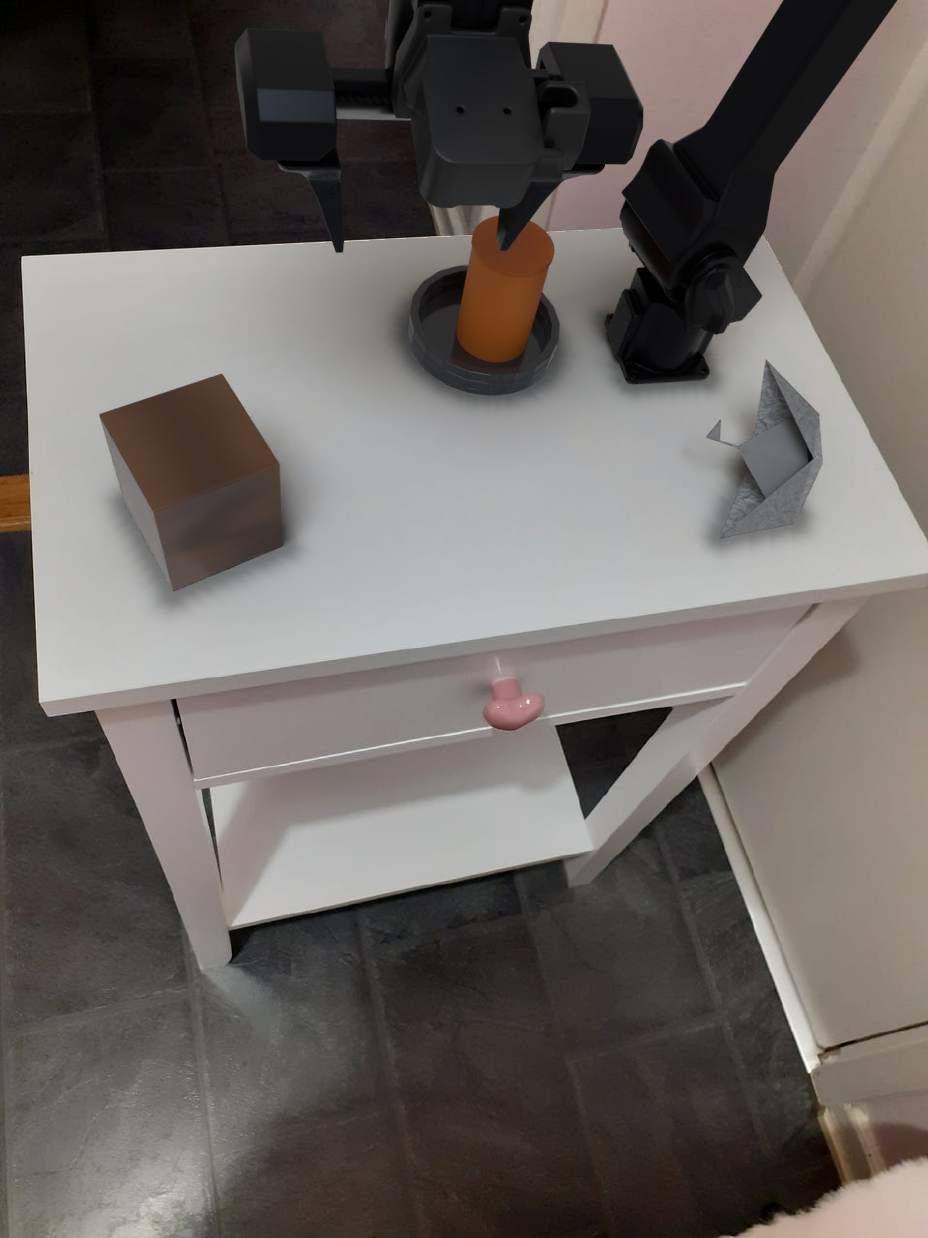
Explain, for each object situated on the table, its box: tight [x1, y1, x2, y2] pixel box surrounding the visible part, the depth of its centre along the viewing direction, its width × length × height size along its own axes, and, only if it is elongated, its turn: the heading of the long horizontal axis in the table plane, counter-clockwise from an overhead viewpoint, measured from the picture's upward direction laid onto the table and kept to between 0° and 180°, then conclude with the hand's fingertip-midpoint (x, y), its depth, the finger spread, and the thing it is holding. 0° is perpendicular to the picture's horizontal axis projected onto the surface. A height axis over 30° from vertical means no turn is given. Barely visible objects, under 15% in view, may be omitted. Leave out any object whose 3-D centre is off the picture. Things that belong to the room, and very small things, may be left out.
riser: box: [98, 373, 284, 592], centre depth 52 cm, size 7×7×8 cm
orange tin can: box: [456, 215, 555, 363], centre depth 63 cm, size 5×5×8 cm
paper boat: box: [705, 359, 824, 539], centre depth 61 cm, size 12×6×9 cm
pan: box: [407, 264, 561, 396], centre depth 66 cm, size 11×11×2 cm
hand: (421, 246), depth 51 cm, fingers open, 9 cm apart
